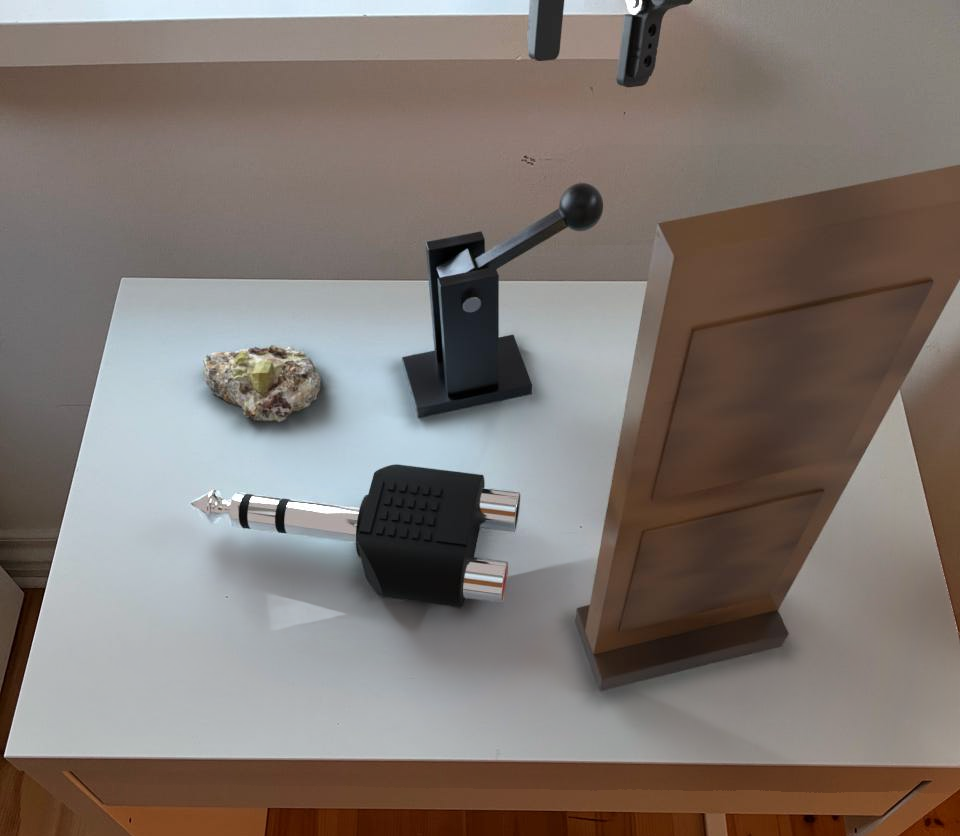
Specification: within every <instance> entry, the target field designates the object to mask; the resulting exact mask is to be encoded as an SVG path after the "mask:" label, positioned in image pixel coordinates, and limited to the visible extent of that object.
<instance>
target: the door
mask: <svg viewBox="0 0 960 836" xmlns="http://www.w3.org/2000/svg"><path fill="white" fill-rule="evenodd" d="M654 236H655V237H654V242H653V246H652V252H651V258H650V264H649V269H648V270H649V271H648V275H647V281H646V286H645V292H644V297H643V302H642V309H641V315H640V319H639V326H638V331H637V336H636V343H635V348H634V353H633V360H632V364H631V371H630V376H629V382H628V388H627V394H626V399H625V404H624V411H623V415H622V422H621V425H620V426H621V427H620V433H619V439H618V444H617V450H616V454H615V459H614V460H615V461H614V466H613V470H612V471H613V472H612V478H611V483H610V489H609V493H608V500H607V504H606V505H607V506H606V511H605V516H604V517H605V518H604V522H603V529H602V532H601V533H602V534H601V539H600V545H599V550H598V557H597V563H596V567H595V574H594V578H593V584H592V590H591V595H590V601H589V604H588V605H583V606H579V607H576V611H575V618H574V622H575V625H576V628H577V632H578V634H579V637H580V640H581V642H582V645H583V648H584V651H585V655H586V657H587V660H588V664H589V666H590V668H591V672H592V674H593V677H594V681H595V683H596V686H597V689H598V691H599V692H600V691H606V690H609V689H614V688H617V687H621V686H627V685H629V684H634V683H638V682H642V681H646V680H650V679H655V678H658V677H662V676H666V675H671V674H674V673H679V672H683V671H687V670H691V669H695V668H700V667H702V666H707V665H711V664H715V663H720V662H723V661H727V660H731V659H735V658H740V657H743V656H748V655H752V654H755V653H756V654H757V653H760V652H765V651H768V650H772V649H777V648H780V647H782V646H783V645H784V643H785V642H786V640H787V639H788V637H789V635H790V633H789V631H788V629H787V627H786V624H785V622H784V619H783V618H782V616H781V613H780V612H779V609H780V608H781V606H782V604H783V603H784V600H785V599H786V597H787V596H788V593H789V591H790V589H791V588H792V586H793V585H794V582H795V580H796V579H797V577H798V575H799V573H800V571H801V569H802V568H803V566H804V564H805V563H806V561H807V558H808V557H809V555H810V553H811V551H812V549H813V547H814V546H815V544H816V542H817V541H818V538H819V537H820V535H821V534H822V531H823V530H824V527H825V526H826V524H827V522H828V520H829V519H830V517H831V515H832V513H833V511H834V510H835V507H836V506H837V504H838V503H839V500H840V499H841V497H842V495H843V493H844V492H845V489H846V488H847V486H848V484H849V482H850V481H851V478H852V477H853V475H854V473H855V471H856V470H857V468H858V466H859V464H860V462H861V460H862V459H863V456H864V455H865V453H866V451H867V449H868V448H869V446H870V444H871V442H872V441H873V439H874V437H875V435H876V433H877V431H878V430H879V428H880V426H881V425H882V422H883V421H884V418H885V417H886V415H887V413H888V412H889V410H890V408H891V406H892V404H893V402H894V401H895V399H896V396H897V395H898V393H899V391H900V389H901V388H902V386H903V384H904V382H905V381H906V379H907V377H908V376H909V373H910V371H911V370H912V368H913V366H914V364H915V362H916V360H917V358H918V357H919V355H920V353H921V351H922V349H923V348H924V346H925V343H926V342H927V341H928V339H929V337H930V335H931V333H932V332H933V329H934V328H935V326H936V324H937V322H938V320H939V319H940V317H941V315H942V313H943V311H944V310H945V308H946V306H947V304H948V302H949V300H950V299H951V297H952V296H953V293H954V291H955V290H956V287H957V286H958V284H959V282H960V163H959V164H954V165H949V166H943V167H939V168H934V169H929V170H923V171H918V172H913V173H908V174H903V175H897V176H892V177H887V178H882V179H877V180H872V181H867V182H862V183H856V184H851V185H846V186H841V187H836V188H831V189H825V190H821V191H816V192H810V193H805V194H799V195H794V196H790V197H785V198H784V197H783V198H780V199H775V200H768V201H763V202H759V203H754V204H749V205H743V206H739V207H733V208H728V209H723V210H717V211H713V212H712V211H711V212H708V213H707V212H706V213H703V214H698V215H692V216H688V217H682V218H677V219H672V220H667V221H661V222H658V223H657V224H656V230H655V235H654Z"/></svg>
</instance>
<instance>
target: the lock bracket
mask: <svg viewBox="0 0 960 836" xmlns="http://www.w3.org/2000/svg"><path fill="white" fill-rule="evenodd" d="M466 249H469V250H470V252H471V254H472V255H473V257H474V258H477V257H479V256H480V255H482V254H484V253H485V252H486V238H485V236H484V234H483V231H481V230H480V231H476V232H470V233H464V234H460V235H454V236H449V237H444V238H438V239H434V240H428V241H425V255H426V265H427V277H428V279H427V280H428V289H429V291H428V292H429V301H430V303H429V304H430V314H431V315H430V316H431V326H432V338H433V350H431V351H426V352H420V353H415V354H411V355H406V356H402V357H401V362H402V368H403V372H404V376H405V378H406V383H407V386H408V390H409V393H410V396H411V399H412V402H413V407H414V409H415V412H416V416H417V419H421V418H425V417H430V416H435V415H440V414H445V413H450V412H454V411H459V410H463V409H469V408H472V407H473V408H474V407H479V406H482V405H487V404H492V403H497V402H501V401H507V400H511V399H515V398H520V397H526V396H530V395H532V394H533V383H532V379H531V377H530V375H529V373H528V370H527V366H526V364H525V361H524V359H523V356H522V353H521V351H520V347H519V346H518V343H517V340H516V337H515V334H509V335H504V336H500V335H499V334H500V332H499V331H500V327H499V325H500V322H499V321H500V320H499V319H500V317H499V316H500V315H499V314H500V313H499V311H500V303H499V302H500V300H499V299H500V275H499V272H498V269H496V267H491V268H486V269H481V270H476V271H470V272H465V273H460V274H455V275H450V276H445V277H439V274H438V271H437V268H436V267H438V266H439V265H441V264H443V263H444V262H446V261H448V260H449V259H451V258H453V257H454V256H456V255H458V254H459V253H461V252H463V251H464V250H466Z"/></svg>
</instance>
